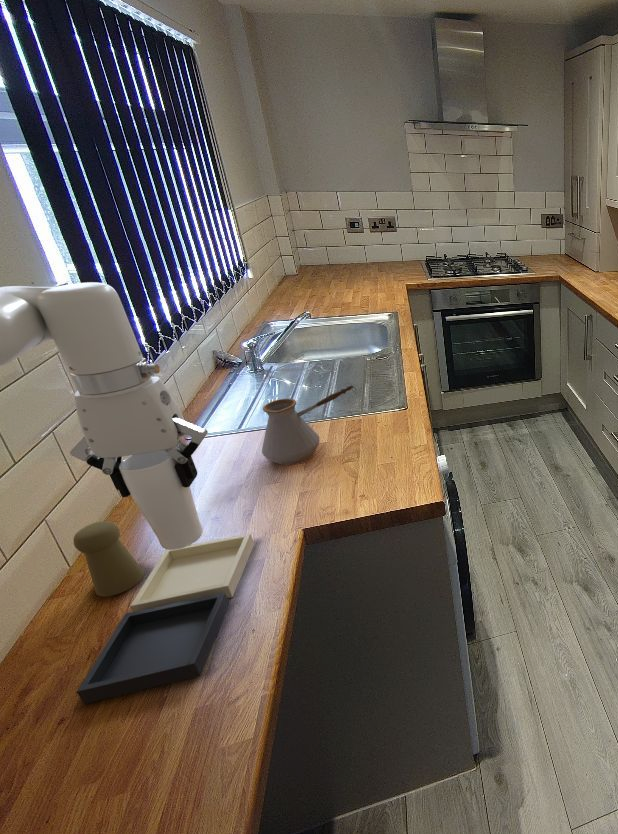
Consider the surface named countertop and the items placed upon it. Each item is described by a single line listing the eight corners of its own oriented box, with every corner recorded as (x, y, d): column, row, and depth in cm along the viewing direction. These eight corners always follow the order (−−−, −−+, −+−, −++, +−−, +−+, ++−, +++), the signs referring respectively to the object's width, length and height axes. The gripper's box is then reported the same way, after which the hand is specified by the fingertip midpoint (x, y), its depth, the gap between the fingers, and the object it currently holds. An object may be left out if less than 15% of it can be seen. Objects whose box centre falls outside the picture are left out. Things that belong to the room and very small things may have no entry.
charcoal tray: (84, 704, 66) (75, 691, 65) (131, 625, 77) (125, 613, 76) (200, 675, 69) (194, 663, 68) (229, 604, 80) (225, 592, 79)
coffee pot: (260, 473, 112) (239, 411, 106) (270, 447, 122) (252, 389, 116) (367, 454, 119) (353, 395, 113) (369, 431, 129) (356, 375, 122)
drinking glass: (204, 520, 86) (173, 441, 80) (213, 539, 82) (181, 458, 75) (153, 539, 82) (115, 458, 76) (159, 562, 77) (120, 477, 71)
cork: (123, 596, 82) (94, 541, 77) (85, 596, 82) (53, 541, 77) (153, 568, 87) (128, 515, 83) (118, 568, 87) (90, 515, 83)
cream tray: (135, 618, 78) (129, 606, 77) (170, 560, 89) (165, 549, 88) (232, 597, 81) (227, 585, 80) (254, 544, 92) (250, 533, 91)
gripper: (198, 359, 76) (235, 463, 83) (49, 374, 71) (103, 483, 79) (177, 379, 69) (219, 490, 77) (12, 397, 65) (74, 514, 72)
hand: (160, 486), depth 78 cm, fingers closed on drinking glass, 6 cm apart
